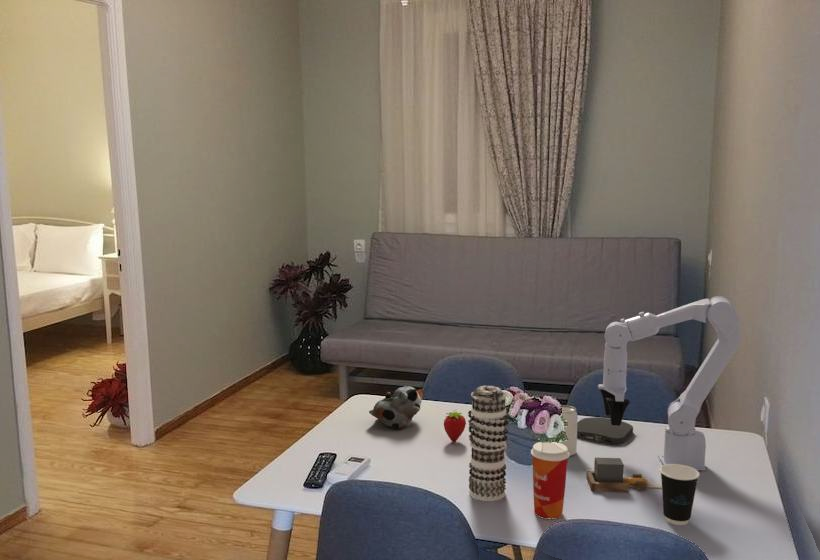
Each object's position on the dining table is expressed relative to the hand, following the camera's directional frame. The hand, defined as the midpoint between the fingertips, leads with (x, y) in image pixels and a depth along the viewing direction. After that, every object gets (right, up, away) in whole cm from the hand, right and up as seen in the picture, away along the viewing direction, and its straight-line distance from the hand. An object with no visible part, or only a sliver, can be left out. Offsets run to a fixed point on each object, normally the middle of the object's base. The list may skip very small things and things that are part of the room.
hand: (612, 420), depth 190 cm
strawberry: (-40, -9, +11) cm, 43 cm away
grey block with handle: (-2, -12, -16) cm, 21 cm away
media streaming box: (+2, -8, +18) cm, 20 cm away
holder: (-2, -12, -16) cm, 21 cm away
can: (-12, -10, +4) cm, 16 cm away
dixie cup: (+4, -15, -34) cm, 37 cm away
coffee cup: (-22, -15, -31) cm, 41 cm away
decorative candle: (-35, -13, -21) cm, 43 cm away
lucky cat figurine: (-57, -6, +27) cm, 63 cm away
